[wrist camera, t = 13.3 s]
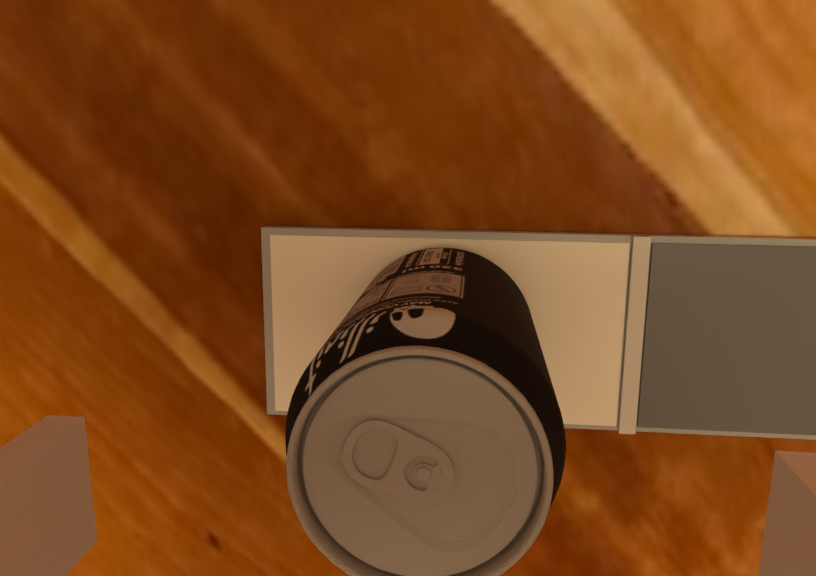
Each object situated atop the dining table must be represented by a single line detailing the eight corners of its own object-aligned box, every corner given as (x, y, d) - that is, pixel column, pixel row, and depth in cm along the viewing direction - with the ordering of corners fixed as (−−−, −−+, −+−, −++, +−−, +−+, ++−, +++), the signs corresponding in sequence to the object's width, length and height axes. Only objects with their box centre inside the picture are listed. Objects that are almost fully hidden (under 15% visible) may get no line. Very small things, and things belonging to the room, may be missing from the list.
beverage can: (491, 437, 27) (501, 659, 16) (333, 374, 28) (227, 547, 16) (560, 283, 26) (627, 401, 14) (393, 217, 26) (324, 280, 14)
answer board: (265, 225, 27) (258, 228, 26) (1046, 242, 25) (1067, 245, 24) (271, 408, 29) (264, 417, 28) (1006, 442, 26) (1025, 452, 26)
